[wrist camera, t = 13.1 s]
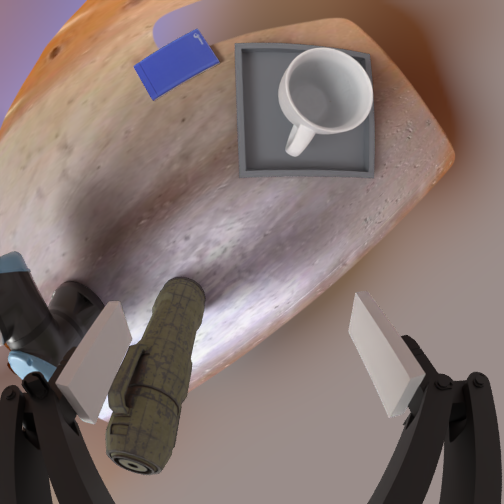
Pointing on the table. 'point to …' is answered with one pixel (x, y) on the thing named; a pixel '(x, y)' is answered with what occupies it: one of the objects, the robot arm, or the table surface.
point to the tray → (279, 127)
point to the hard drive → (175, 64)
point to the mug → (323, 95)
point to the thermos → (155, 381)
